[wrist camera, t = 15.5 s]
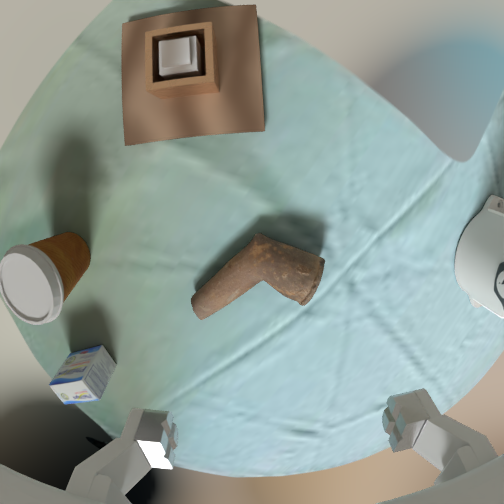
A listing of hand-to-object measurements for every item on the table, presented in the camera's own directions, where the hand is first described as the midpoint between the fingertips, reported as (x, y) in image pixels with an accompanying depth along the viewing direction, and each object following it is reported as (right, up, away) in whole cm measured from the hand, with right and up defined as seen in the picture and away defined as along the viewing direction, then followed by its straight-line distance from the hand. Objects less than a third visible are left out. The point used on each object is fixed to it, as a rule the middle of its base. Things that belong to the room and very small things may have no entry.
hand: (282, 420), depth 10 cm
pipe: (0, +3, +30) cm, 30 cm away
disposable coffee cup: (-26, +6, +28) cm, 39 cm away
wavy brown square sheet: (-8, +27, +21) cm, 35 cm away
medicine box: (-27, -11, +34) cm, 45 cm away
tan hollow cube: (-8, +26, +20) cm, 34 cm away
